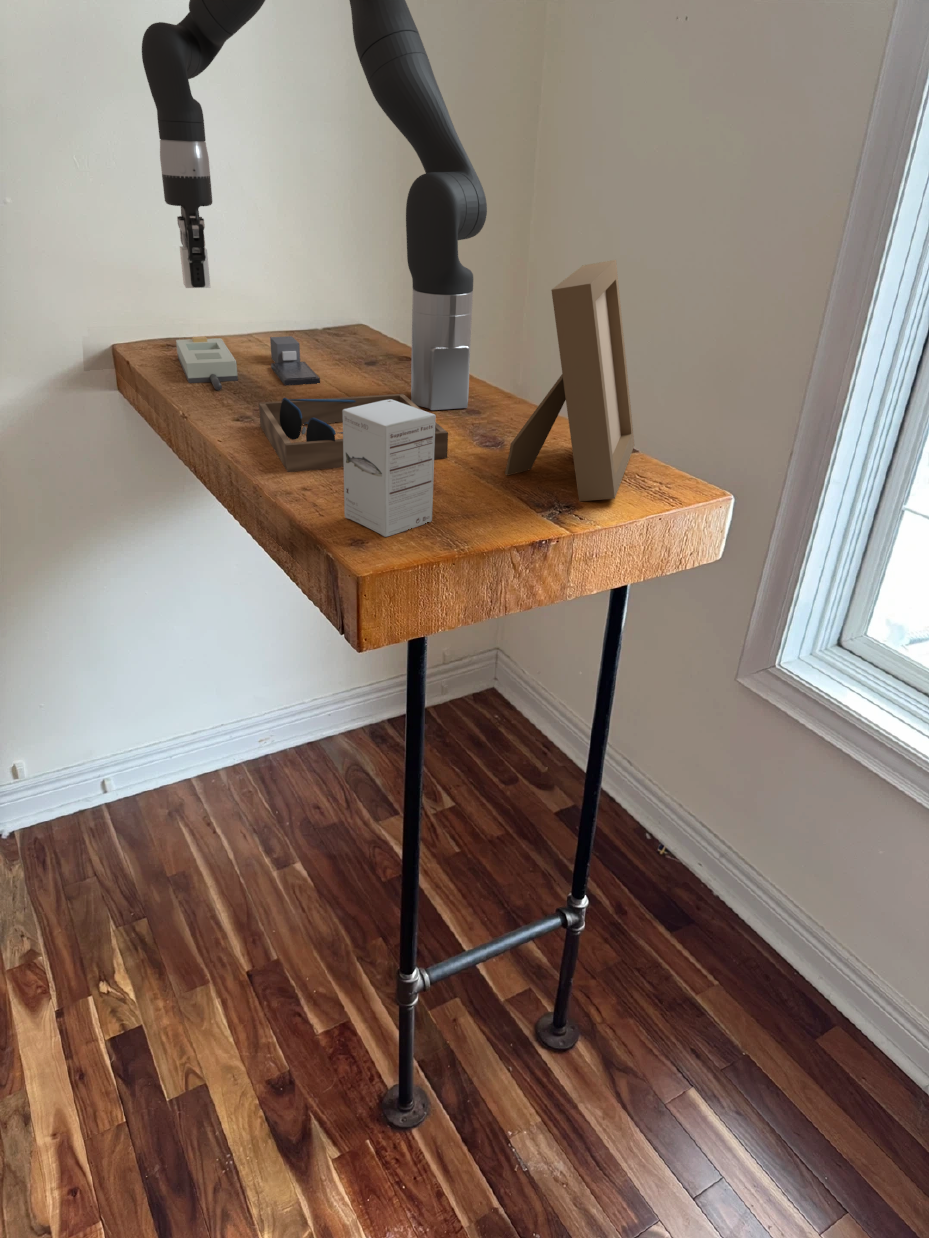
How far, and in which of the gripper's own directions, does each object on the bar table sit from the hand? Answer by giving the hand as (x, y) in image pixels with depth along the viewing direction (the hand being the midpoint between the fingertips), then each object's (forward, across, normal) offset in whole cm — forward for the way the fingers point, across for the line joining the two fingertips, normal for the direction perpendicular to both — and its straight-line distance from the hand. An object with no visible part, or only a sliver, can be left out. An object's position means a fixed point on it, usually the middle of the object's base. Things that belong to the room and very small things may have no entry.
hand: (196, 284), depth 151 cm
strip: (+14, -6, 0) cm, 15 cm away
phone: (+14, -11, -14) cm, 22 cm away
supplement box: (+13, -76, -11) cm, 78 cm away
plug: (+14, -1, -14) cm, 20 cm away
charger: (0, 0, 0) cm, 0 cm away
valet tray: (+13, -48, -14) cm, 52 cm away
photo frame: (+13, -66, -39) cm, 78 cm away
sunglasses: (+13, -48, -14) cm, 52 cm away
